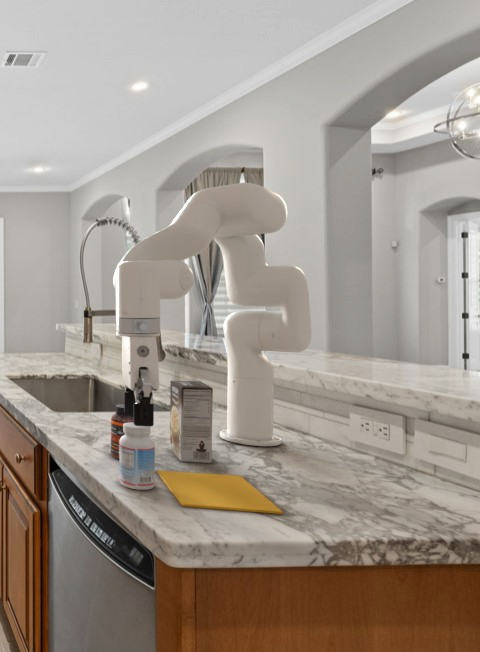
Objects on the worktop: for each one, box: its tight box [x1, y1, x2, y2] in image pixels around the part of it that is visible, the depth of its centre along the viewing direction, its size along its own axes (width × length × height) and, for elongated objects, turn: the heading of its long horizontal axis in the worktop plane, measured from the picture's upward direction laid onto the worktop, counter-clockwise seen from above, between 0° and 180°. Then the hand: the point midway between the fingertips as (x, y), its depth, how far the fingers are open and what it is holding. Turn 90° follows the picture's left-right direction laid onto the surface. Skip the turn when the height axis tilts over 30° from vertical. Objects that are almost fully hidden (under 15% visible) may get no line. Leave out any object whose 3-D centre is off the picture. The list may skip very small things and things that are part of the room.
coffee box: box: [169, 380, 214, 464], centre depth 119 cm, size 9×6×16 cm
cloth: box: [156, 469, 284, 515], centre depth 98 cm, size 18×15×1 cm
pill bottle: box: [118, 422, 156, 491], centre depth 101 cm, size 6×6×11 cm
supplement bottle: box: [110, 403, 134, 460], centre depth 118 cm, size 6×6×11 cm
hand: (138, 419), depth 101 cm, fingers open, 9 cm apart
